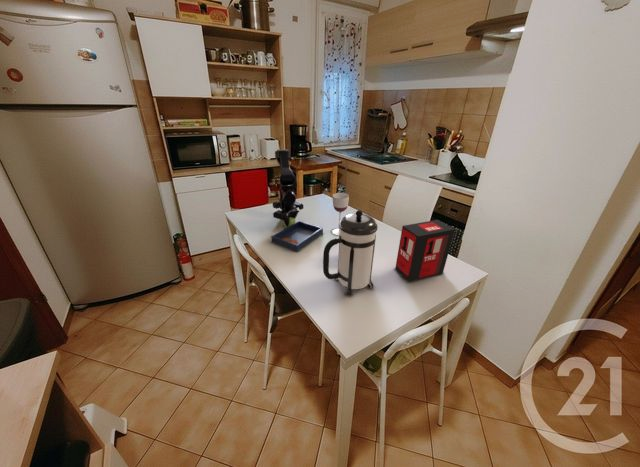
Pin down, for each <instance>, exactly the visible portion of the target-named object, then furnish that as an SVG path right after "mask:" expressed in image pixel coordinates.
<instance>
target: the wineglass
mask: <svg viewBox="0 0 640 467" xmlns="http://www.w3.org/2000/svg"><path fill="white" fill-rule="evenodd" d="M349 201H350V194H348V193H346V192H336V193H333V194H332V206H333V209H334V210H335V211H336V212H338V214H339V215H338V224H339V223H340V221H341V220H342V213H344V212H345V211H346V210H347V209H348V206H349ZM331 233H332V234H333V235H335V236H339V233H340V228H339V227H338V228H335V229H333V230H332V231H331Z"/></svg>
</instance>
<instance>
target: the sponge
mask: <svg viewBox="0 0 640 467" xmlns="http://www.w3.org/2000/svg"><path fill="white" fill-rule="evenodd" d="M294 223H296V218H292V217H290V220H289V225H288V227H289V226H290V225H292V224H294ZM283 227H285V228H287V226H286V225H285V223H284V222H283Z"/></svg>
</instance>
